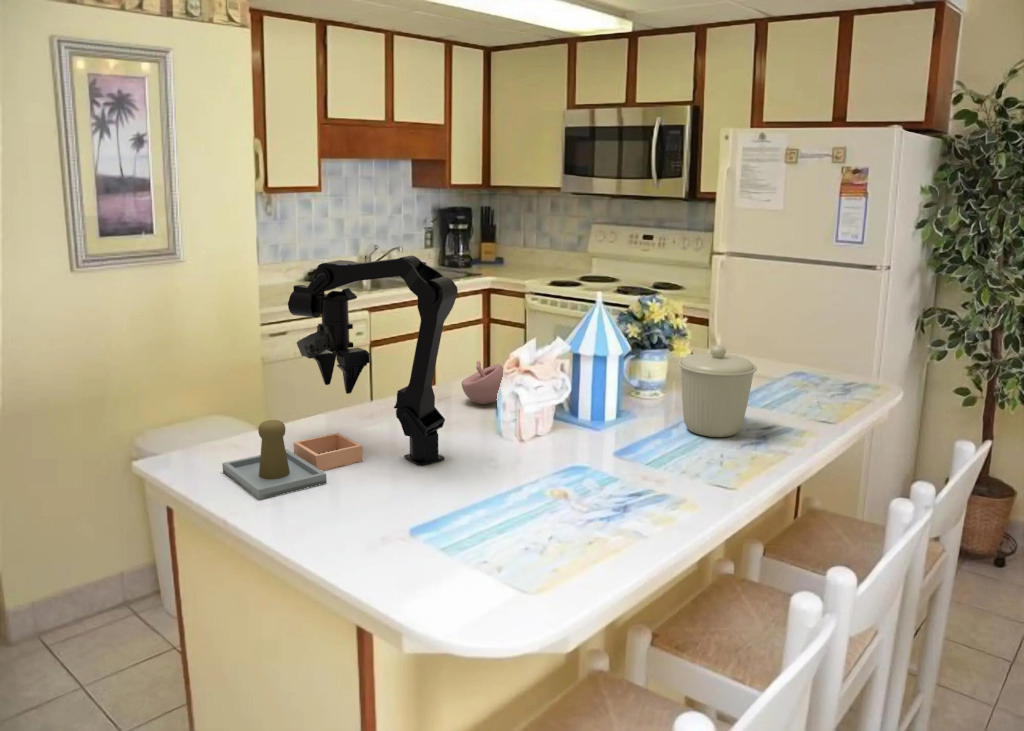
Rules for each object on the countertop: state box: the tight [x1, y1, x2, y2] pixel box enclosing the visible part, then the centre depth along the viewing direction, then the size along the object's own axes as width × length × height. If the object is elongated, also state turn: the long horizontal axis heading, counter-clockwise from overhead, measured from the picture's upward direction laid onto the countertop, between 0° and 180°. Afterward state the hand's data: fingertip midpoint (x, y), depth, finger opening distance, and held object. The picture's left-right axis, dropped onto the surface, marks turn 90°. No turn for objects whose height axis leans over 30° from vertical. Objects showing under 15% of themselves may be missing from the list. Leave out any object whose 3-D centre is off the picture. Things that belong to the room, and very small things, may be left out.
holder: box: [293, 432, 363, 471], centre depth 181 cm, size 11×11×4 cm
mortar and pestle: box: [461, 360, 504, 405], centre depth 223 cm, size 12×12×11 cm
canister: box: [677, 344, 758, 438], centre depth 202 cm, size 18×18×21 cm
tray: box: [221, 448, 328, 501], centre depth 171 cm, size 18×14×2 cm
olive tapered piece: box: [257, 419, 290, 479], centre depth 169 cm, size 6×6×11 cm
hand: (337, 389), depth 188 cm, fingers open, 9 cm apart
